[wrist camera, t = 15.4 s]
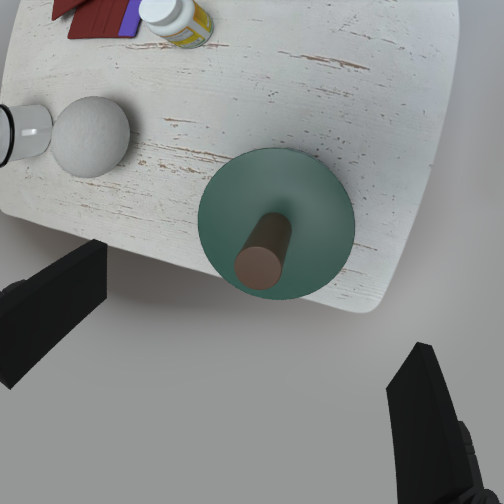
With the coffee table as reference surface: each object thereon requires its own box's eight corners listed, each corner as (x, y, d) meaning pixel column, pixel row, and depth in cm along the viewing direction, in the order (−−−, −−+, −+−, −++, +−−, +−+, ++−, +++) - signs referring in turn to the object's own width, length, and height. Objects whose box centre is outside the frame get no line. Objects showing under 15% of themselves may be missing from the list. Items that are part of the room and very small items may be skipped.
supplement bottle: (197, 56, 31) (160, 37, 22) (164, 39, 31) (122, 19, 22) (223, 20, 29) (193, -9, 20) (188, 5, 29) (152, -24, 20)
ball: (148, 167, 37) (100, 181, 28) (89, 174, 39) (40, 190, 30) (142, 91, 34) (93, 85, 25) (83, 106, 36) (32, 108, 27)
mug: (21, 158, 41) (-19, 169, 33) (22, 104, 37) (-19, 108, 29) (66, 159, 39) (22, 170, 31) (68, 96, 36) (23, 97, 27)
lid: (375, 176, 25) (403, 200, 16) (323, 310, 30) (321, 375, 22) (219, 130, 26) (175, 131, 17) (190, 268, 31) (148, 318, 23)
